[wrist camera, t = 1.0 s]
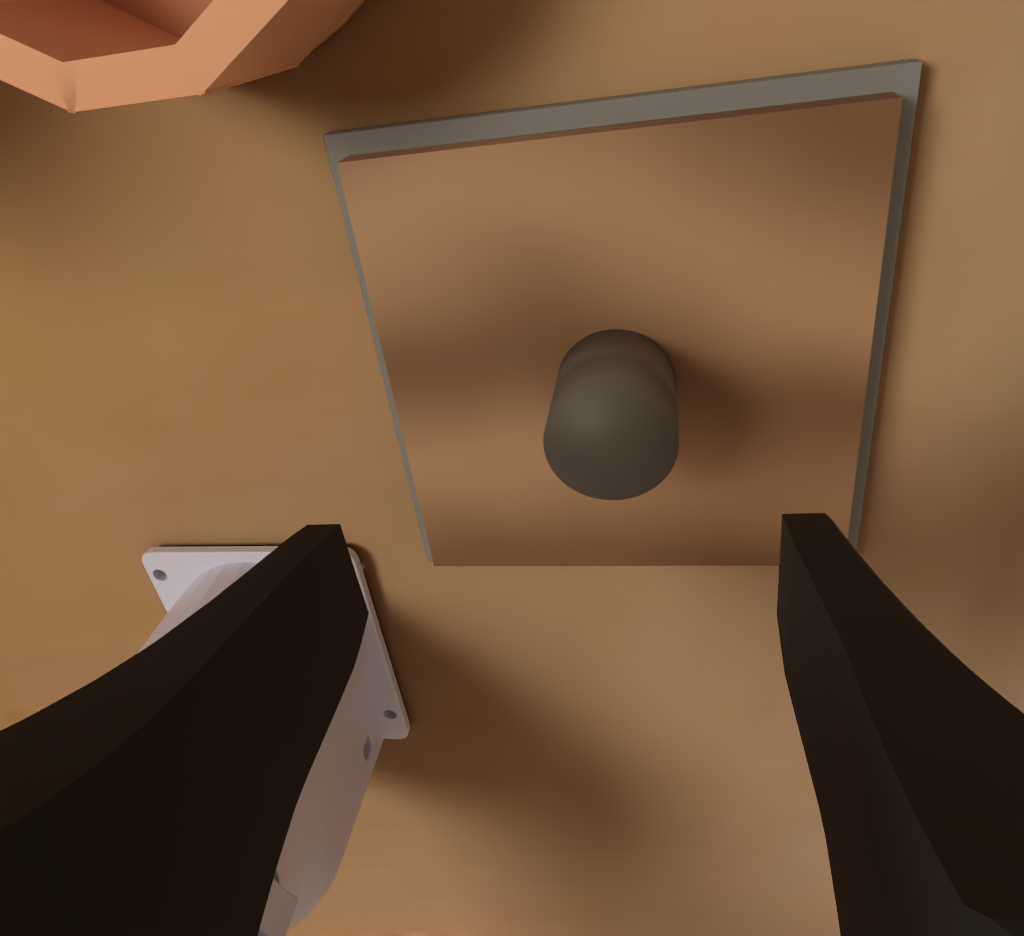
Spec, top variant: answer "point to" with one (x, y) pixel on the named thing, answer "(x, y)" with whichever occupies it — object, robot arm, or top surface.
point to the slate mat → (658, 106)
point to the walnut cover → (631, 329)
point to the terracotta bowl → (156, 46)
